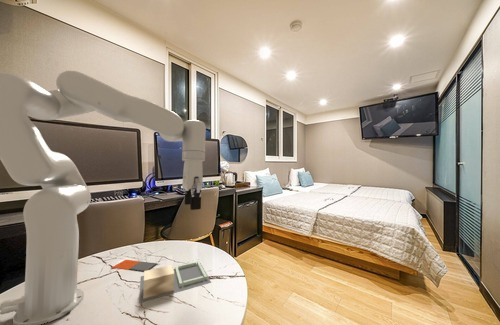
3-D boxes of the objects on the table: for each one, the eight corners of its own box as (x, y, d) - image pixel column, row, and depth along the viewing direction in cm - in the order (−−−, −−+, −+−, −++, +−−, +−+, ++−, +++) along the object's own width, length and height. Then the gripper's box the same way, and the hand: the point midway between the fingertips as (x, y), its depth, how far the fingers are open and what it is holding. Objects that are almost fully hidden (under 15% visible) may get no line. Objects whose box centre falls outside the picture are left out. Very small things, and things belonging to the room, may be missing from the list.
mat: (138, 304, 51) (138, 299, 51) (140, 278, 63) (140, 273, 63) (211, 283, 60) (211, 279, 60) (200, 264, 72) (200, 260, 72)
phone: (125, 258, 74) (159, 262, 72) (125, 262, 74) (158, 266, 72) (110, 267, 68) (146, 272, 65) (110, 271, 68) (146, 276, 65)
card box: (143, 298, 52) (143, 280, 52) (143, 287, 57) (144, 271, 57) (174, 290, 56) (174, 273, 56) (171, 280, 61) (172, 264, 61)
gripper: (178, 157, 70) (176, 203, 70) (187, 154, 55) (185, 213, 55) (198, 158, 74) (197, 201, 73) (212, 156, 59) (210, 210, 58)
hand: (192, 206), depth 64 cm, fingers open, 9 cm apart
